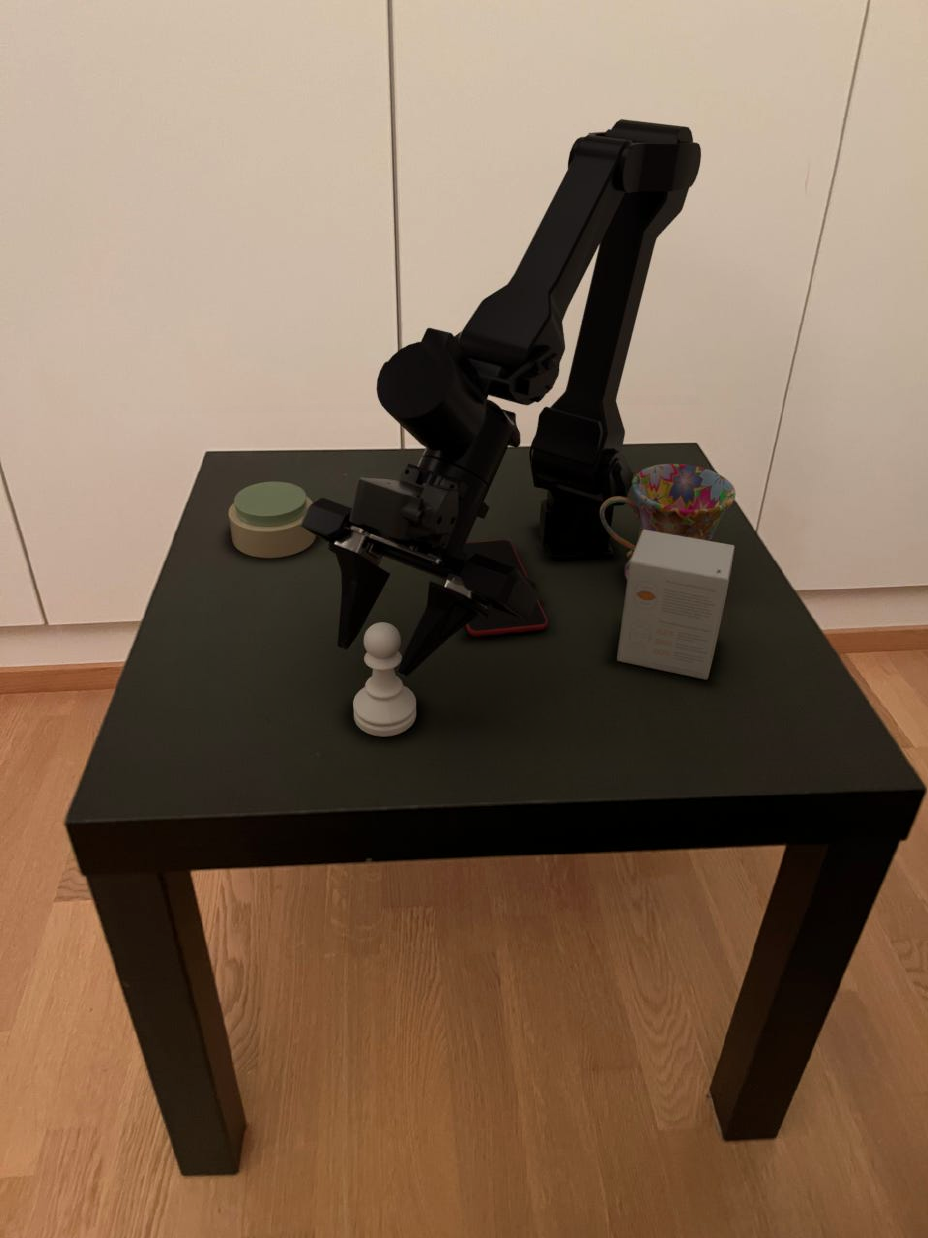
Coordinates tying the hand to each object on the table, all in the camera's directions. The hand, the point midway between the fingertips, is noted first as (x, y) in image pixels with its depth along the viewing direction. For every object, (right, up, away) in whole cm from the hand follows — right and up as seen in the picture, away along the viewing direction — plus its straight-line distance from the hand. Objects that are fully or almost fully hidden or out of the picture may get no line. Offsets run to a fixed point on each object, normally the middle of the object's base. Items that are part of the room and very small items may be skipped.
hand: (371, 661), depth 71 cm
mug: (+25, +7, +22) cm, 34 cm away
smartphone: (+10, +6, +20) cm, 23 cm away
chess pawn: (+1, -5, +5) cm, 7 cm away
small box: (+25, 0, +12) cm, 28 cm away
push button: (-13, +12, +27) cm, 32 cm away
